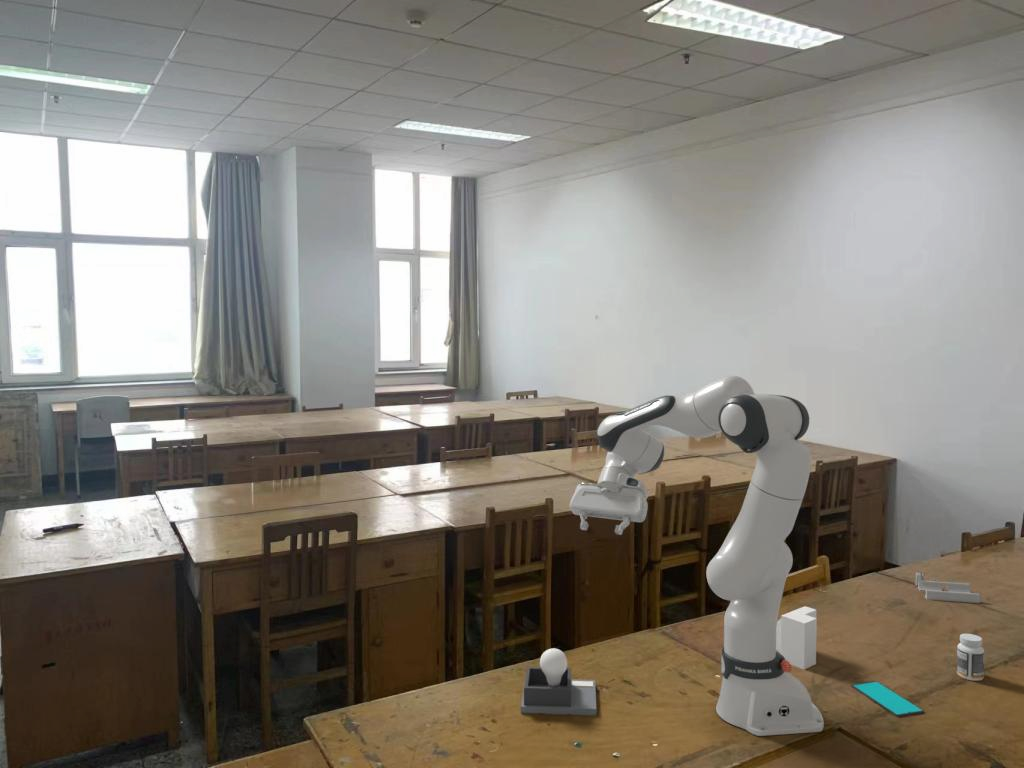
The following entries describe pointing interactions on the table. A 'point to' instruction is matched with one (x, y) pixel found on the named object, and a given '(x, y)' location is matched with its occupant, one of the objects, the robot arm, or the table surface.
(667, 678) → the table surface
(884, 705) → the smartphone
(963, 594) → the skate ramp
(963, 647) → the pill bottle
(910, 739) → the table surface
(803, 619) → the white notched block
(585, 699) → the socket board
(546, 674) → the lightbulb
